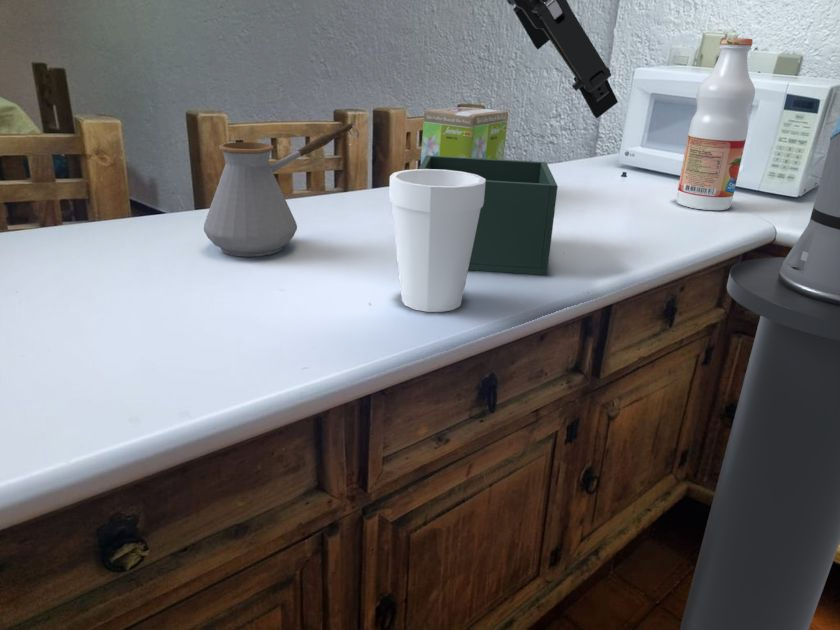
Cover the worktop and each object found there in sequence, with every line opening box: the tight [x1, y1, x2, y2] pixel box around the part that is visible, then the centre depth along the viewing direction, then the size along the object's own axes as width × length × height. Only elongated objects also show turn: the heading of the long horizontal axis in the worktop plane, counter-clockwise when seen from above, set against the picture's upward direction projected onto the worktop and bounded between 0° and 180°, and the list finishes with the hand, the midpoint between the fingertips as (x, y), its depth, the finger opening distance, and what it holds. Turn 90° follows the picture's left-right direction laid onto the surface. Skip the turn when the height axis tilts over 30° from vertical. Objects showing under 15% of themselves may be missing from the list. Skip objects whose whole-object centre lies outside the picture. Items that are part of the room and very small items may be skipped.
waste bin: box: [418, 155, 558, 276], centre depth 85 cm, size 17×17×11 cm
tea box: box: [420, 106, 509, 164], centre depth 118 cm, size 15×10×15 cm, turn 151°
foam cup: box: [388, 169, 486, 313], centre depth 67 cm, size 10×9×13 cm
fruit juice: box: [675, 37, 756, 211], centre depth 114 cm, size 9×9×28 cm
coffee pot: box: [203, 123, 360, 258], centre depth 84 cm, size 21×12×15 cm, turn 127°
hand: (574, 72), depth 74 cm, fingers open, 13 cm apart
